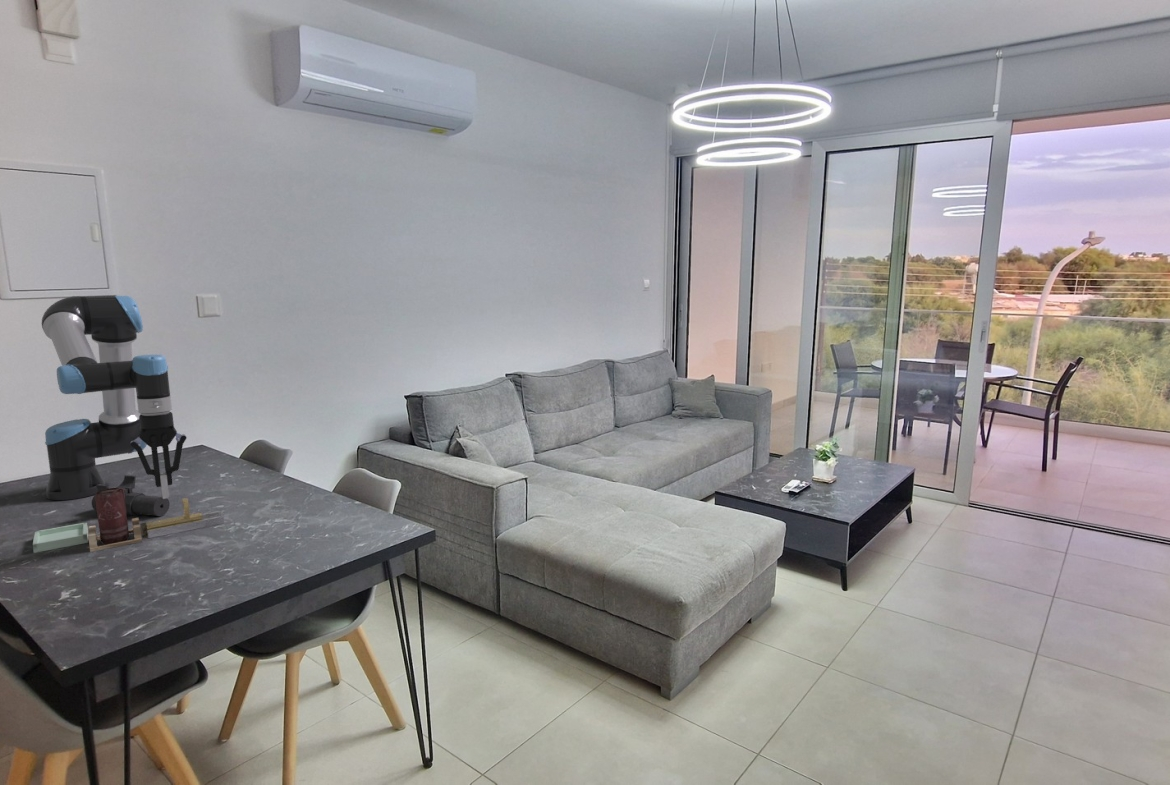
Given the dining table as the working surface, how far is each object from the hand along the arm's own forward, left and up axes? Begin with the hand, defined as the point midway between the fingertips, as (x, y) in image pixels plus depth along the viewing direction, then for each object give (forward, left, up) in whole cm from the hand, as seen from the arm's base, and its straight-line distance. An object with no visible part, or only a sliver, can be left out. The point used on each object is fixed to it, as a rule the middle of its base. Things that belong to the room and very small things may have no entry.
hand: (165, 497), depth 178 cm
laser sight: (-23, -8, -10) cm, 27 cm away
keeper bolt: (0, +1, -10) cm, 10 cm away
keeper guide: (0, +4, -10) cm, 11 cm away
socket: (0, -12, -10) cm, 16 cm away
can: (0, -12, -10) cm, 16 cm away
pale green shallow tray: (-9, -24, -10) cm, 27 cm away
